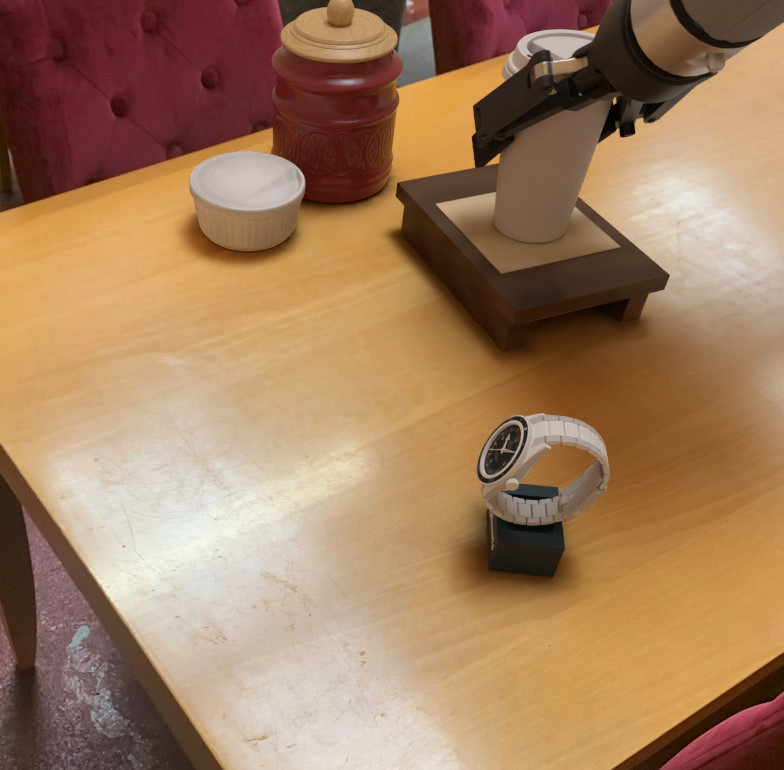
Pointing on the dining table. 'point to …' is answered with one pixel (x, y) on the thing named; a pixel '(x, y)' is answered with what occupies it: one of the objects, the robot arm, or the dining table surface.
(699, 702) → the dining table surface
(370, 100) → the kitchen canister
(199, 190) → the ramekin
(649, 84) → the robot arm
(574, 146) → the coffee cup
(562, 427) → the watch
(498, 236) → the wooden riser stand
